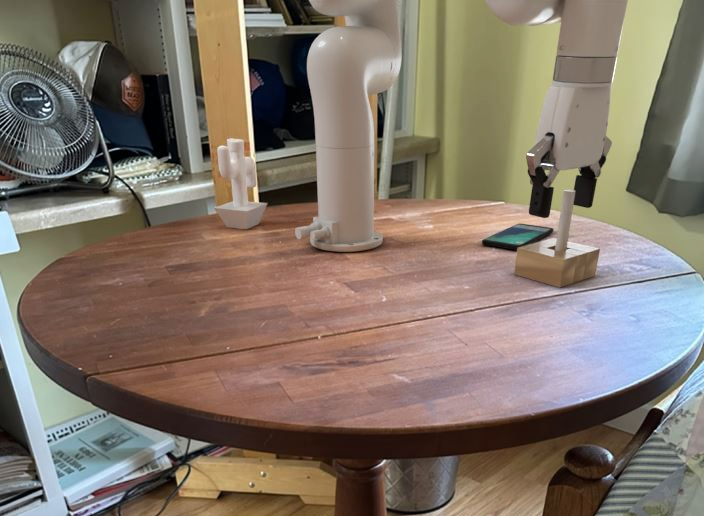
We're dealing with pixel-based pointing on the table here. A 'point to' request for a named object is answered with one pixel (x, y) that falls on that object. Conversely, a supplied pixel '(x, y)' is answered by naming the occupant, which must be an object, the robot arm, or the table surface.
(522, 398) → the table surface
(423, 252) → the table surface
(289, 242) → the table surface
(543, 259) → the pen stand
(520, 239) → the smartphone
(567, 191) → the white rod
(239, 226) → the figurine
